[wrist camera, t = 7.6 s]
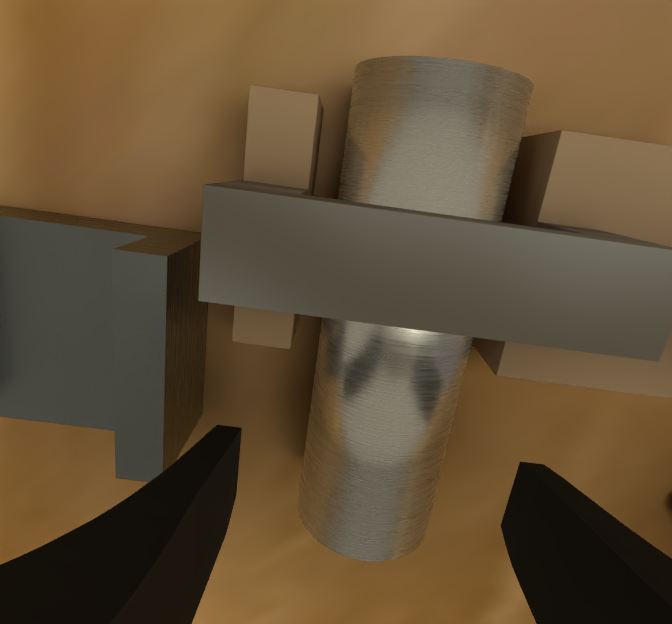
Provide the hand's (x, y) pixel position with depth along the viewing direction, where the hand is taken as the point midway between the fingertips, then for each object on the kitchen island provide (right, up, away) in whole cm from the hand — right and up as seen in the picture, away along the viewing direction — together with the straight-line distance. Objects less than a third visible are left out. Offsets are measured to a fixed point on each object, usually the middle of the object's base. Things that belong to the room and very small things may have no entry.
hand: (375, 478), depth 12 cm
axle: (+1, +4, +3) cm, 5 cm away
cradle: (-9, +4, +2) cm, 10 cm away
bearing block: (+3, +6, +2) cm, 7 cm away
